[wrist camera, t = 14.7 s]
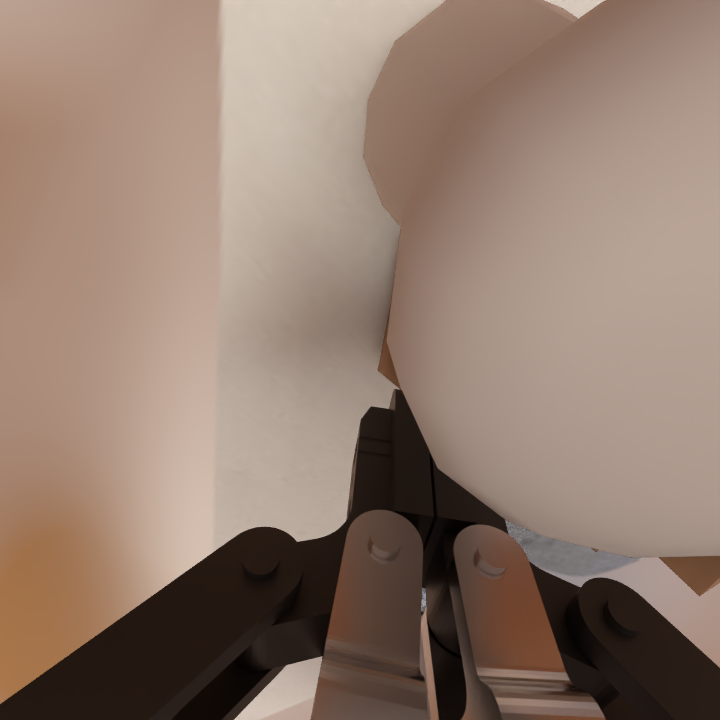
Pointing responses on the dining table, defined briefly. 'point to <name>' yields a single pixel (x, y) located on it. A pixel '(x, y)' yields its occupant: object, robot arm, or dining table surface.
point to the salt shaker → (561, 261)
